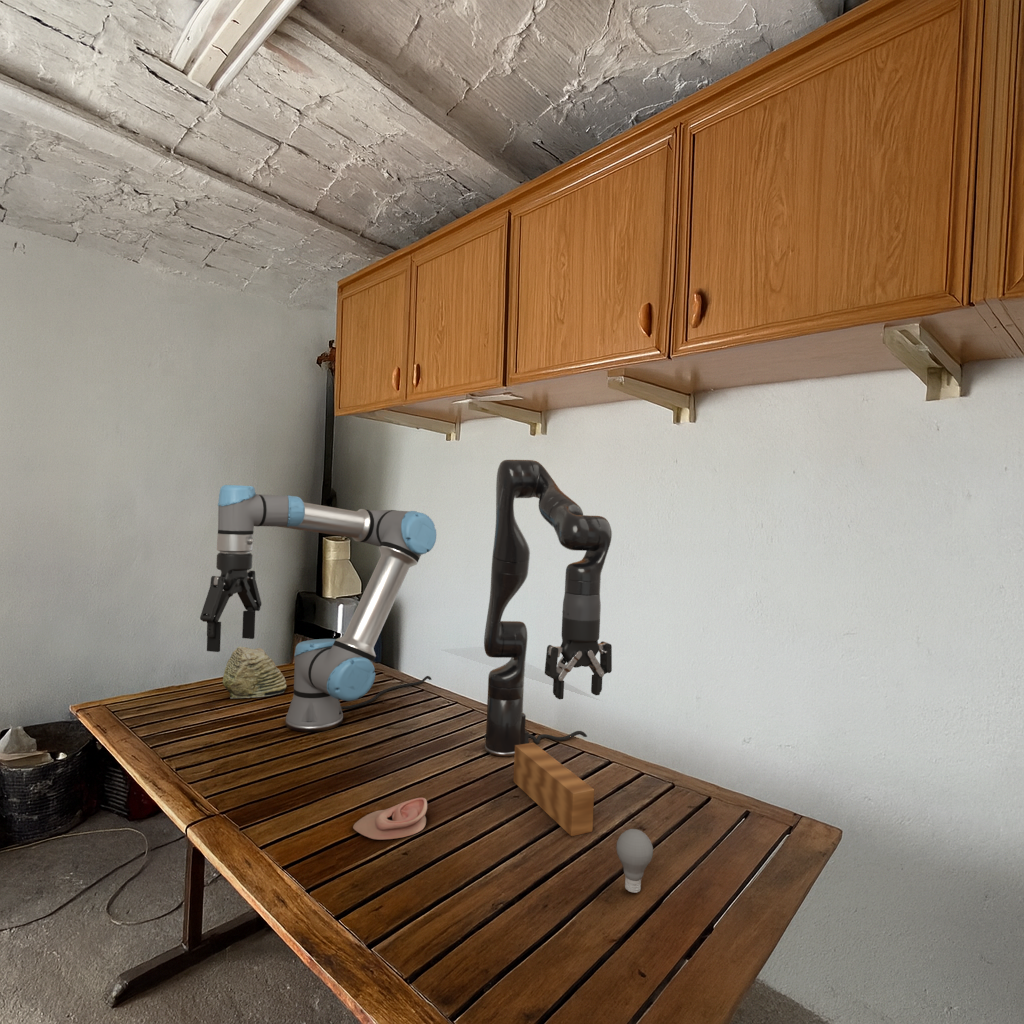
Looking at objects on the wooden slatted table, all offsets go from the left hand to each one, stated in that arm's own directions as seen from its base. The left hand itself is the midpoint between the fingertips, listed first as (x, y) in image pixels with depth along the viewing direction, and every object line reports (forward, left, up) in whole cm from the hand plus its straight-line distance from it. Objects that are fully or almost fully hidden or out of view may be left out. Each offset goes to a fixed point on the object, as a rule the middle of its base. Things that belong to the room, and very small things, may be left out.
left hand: (231, 644), depth 146 cm
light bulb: (-22, +92, -28) cm, 99 cm away
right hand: (-34, +73, -2) cm, 80 cm away
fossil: (-31, -44, -28) cm, 61 cm away
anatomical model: (-8, +47, -28) cm, 56 cm away
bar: (-37, +65, -28) cm, 80 cm away
